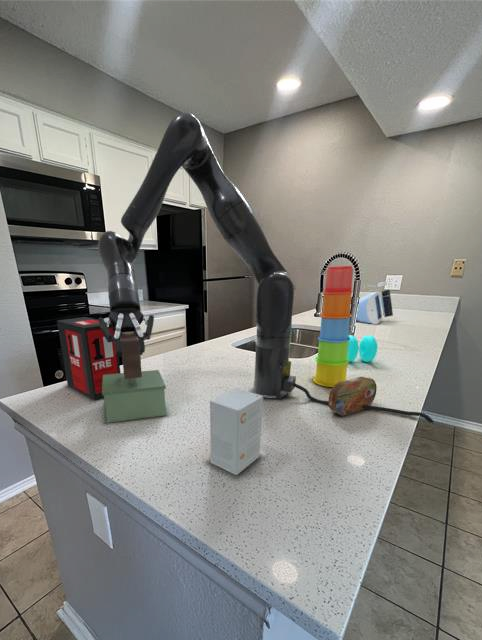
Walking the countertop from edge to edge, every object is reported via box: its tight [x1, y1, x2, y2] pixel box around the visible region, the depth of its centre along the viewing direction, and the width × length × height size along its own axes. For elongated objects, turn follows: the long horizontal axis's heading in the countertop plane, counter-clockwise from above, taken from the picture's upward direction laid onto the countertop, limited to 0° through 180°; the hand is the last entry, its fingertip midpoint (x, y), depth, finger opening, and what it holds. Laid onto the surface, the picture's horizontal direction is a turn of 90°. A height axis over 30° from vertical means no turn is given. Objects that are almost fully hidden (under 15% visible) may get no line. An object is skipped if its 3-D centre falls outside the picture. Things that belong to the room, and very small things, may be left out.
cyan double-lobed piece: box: [347, 334, 378, 363], centre depth 121 cm, size 10×10×10 cm
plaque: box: [120, 331, 142, 379], centre depth 78 cm, size 10×4×9 cm, turn 16°
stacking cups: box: [312, 265, 354, 388], centre depth 95 cm, size 10×10×35 cm
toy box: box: [102, 369, 167, 424], centre depth 82 cm, size 15×13×8 cm
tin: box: [328, 376, 378, 417], centre depth 81 cm, size 15×3×8 cm, turn 117°
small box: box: [209, 388, 264, 476], centre depth 60 cm, size 8×6×13 cm
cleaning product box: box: [56, 316, 121, 401], centre depth 93 cm, size 16×9×20 cm, turn 47°
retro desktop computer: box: [355, 281, 394, 325], centre depth 200 cm, size 25×23×17 cm
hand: (131, 353), depth 76 cm, fingers closed on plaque, 4 cm apart
